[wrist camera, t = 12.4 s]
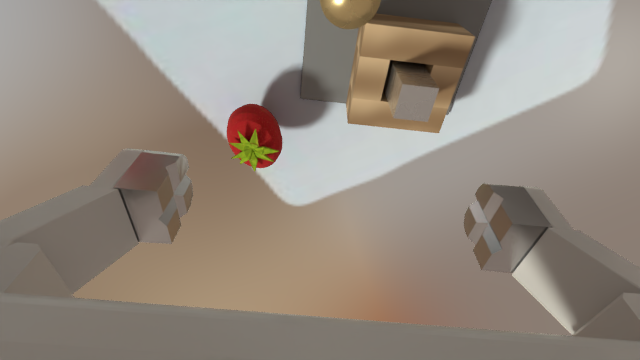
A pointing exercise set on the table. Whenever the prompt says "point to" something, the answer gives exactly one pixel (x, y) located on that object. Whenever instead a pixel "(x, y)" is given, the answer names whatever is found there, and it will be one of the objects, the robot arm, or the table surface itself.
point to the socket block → (409, 46)
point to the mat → (339, 44)
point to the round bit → (349, 12)
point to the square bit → (410, 91)
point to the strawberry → (254, 136)
